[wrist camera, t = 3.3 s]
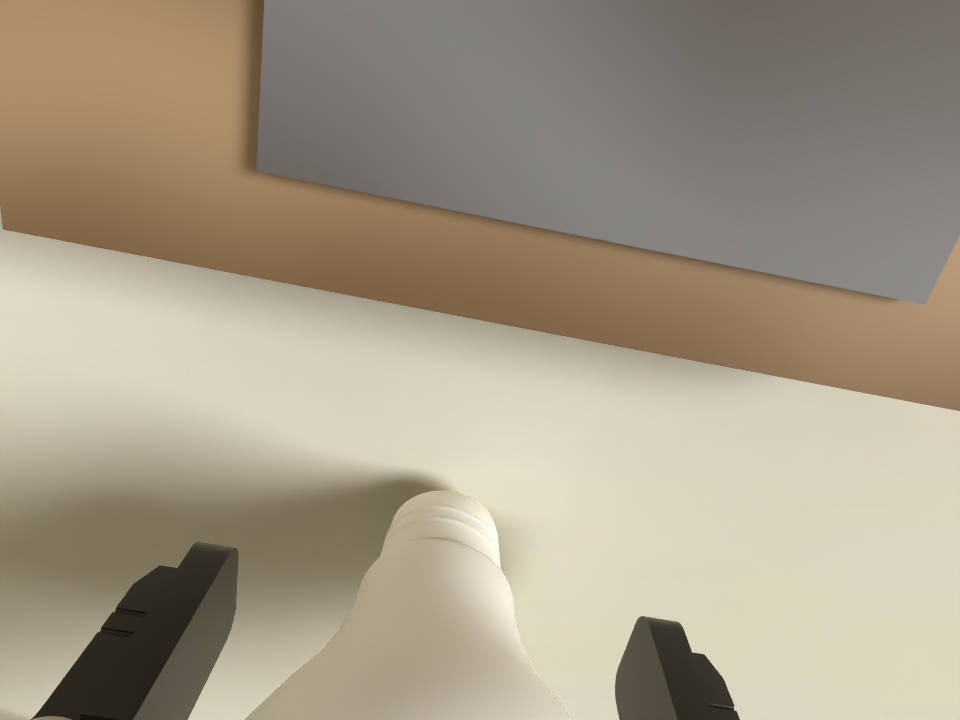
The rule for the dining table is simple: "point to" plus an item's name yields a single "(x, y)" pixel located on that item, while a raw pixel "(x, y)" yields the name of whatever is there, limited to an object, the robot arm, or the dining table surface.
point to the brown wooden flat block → (525, 164)
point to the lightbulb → (424, 632)
